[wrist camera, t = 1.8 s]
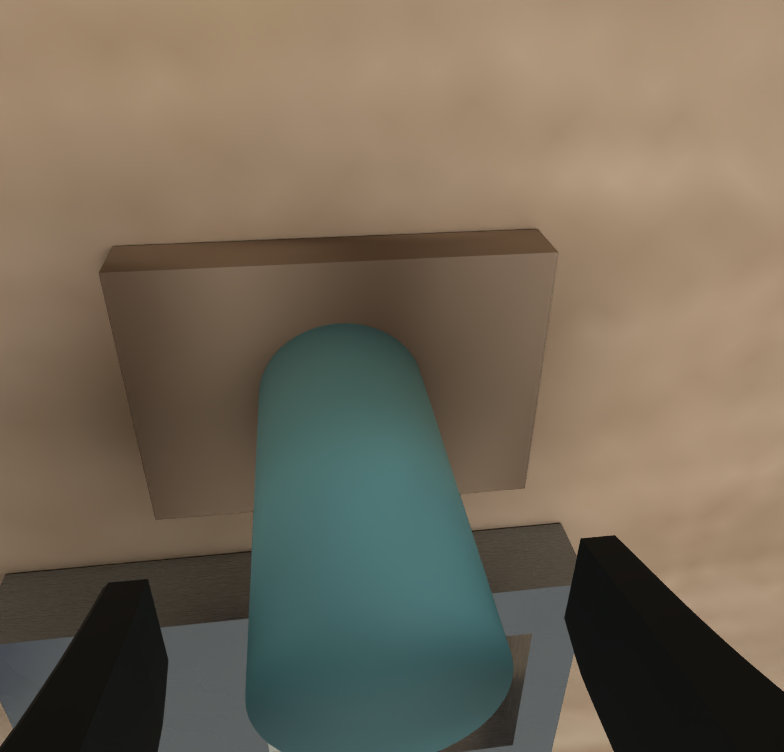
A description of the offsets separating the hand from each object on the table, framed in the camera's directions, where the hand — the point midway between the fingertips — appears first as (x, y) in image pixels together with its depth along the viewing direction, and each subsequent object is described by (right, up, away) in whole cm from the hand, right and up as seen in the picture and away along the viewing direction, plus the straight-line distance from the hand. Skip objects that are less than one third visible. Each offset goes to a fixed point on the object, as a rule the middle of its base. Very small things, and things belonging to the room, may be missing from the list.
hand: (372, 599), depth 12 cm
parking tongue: (-1, +4, +7) cm, 8 cm away
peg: (-1, +3, +5) cm, 6 cm away
